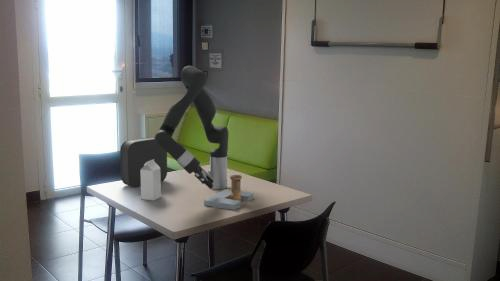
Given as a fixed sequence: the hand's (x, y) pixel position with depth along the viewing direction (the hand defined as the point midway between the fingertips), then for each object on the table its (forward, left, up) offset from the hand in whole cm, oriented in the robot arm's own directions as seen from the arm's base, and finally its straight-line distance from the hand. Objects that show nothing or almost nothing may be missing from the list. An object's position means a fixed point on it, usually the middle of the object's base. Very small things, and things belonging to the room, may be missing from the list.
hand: (212, 185), depth 230 cm
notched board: (+7, +5, -9) cm, 12 cm away
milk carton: (-30, -8, -9) cm, 32 cm away
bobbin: (+10, +5, -9) cm, 14 cm away
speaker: (-50, +13, -9) cm, 53 cm away
